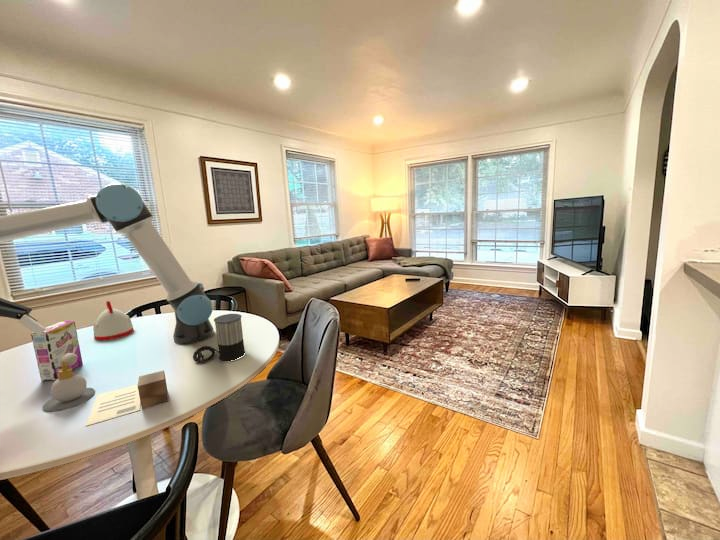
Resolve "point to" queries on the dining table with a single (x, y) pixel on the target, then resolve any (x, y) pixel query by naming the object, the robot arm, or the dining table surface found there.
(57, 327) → the candy bar box
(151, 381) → the walnut block
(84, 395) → the grey smooth round part
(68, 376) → the perfume bottle
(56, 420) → the dining table surface
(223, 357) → the milk frother
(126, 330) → the white and red dome
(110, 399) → the letter
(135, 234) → the robot arm
